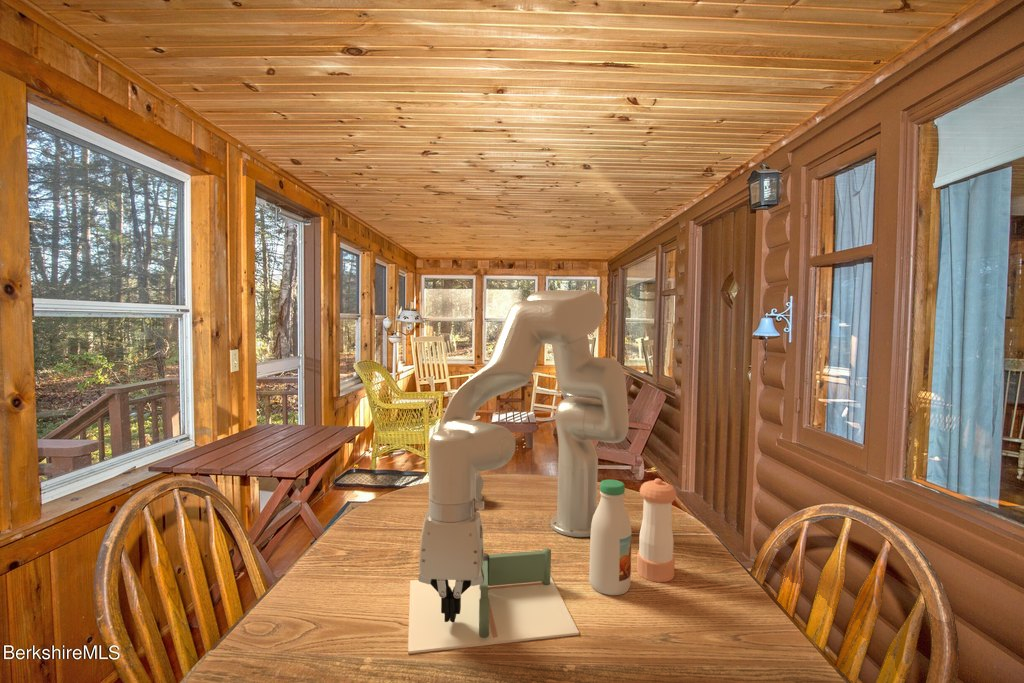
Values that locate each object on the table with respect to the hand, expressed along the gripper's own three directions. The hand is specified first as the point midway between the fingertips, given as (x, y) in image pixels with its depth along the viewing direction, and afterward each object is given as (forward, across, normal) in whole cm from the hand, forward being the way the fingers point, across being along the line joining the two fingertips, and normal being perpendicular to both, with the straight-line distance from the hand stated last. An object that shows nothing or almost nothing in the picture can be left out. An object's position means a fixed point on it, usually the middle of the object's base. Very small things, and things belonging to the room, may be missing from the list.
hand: (450, 616), depth 80 cm
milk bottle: (+2, -28, -14) cm, 32 cm away
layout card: (+2, -6, -6) cm, 8 cm away
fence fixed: (+2, -10, -12) cm, 16 cm away
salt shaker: (+2, -38, -20) cm, 43 cm away
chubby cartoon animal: (+2, +4, -55) cm, 55 cm away
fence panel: (+1, -5, -3) cm, 6 cm away
